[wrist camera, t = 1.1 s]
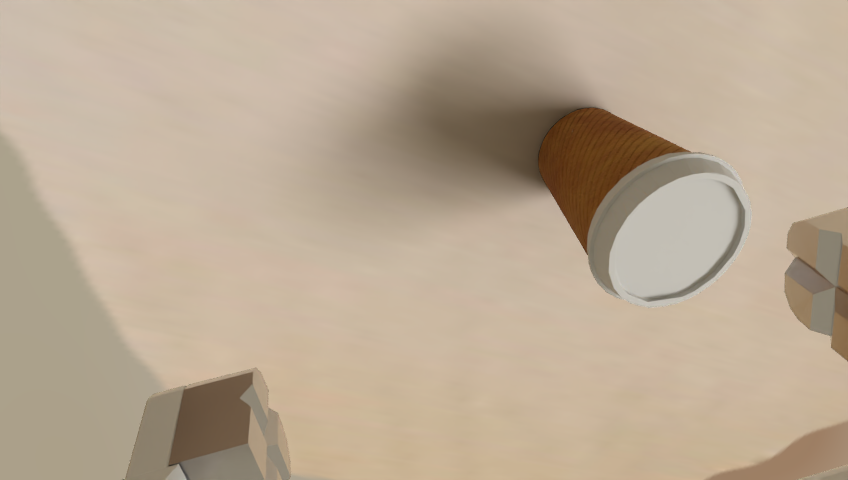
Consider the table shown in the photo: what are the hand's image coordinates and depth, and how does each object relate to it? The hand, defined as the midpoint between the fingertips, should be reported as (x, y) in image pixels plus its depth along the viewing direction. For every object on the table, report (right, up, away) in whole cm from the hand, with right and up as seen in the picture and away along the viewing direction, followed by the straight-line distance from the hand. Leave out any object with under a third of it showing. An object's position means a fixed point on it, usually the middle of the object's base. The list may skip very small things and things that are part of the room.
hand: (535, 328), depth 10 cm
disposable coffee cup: (+9, +7, +37) cm, 38 cm away
